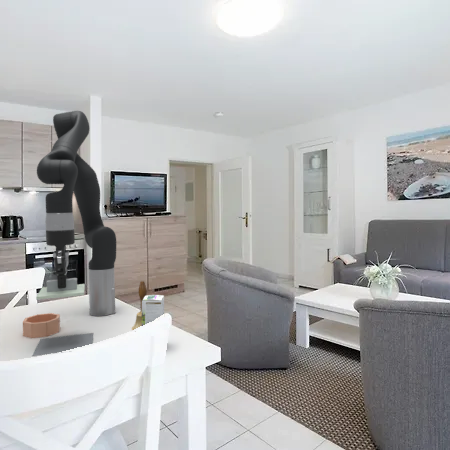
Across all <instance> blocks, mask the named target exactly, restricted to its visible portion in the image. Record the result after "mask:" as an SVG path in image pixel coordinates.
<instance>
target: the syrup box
mask: <svg viewBox="0 0 450 450" xmlns="http://www.w3.org/2000/svg"><path fill="white" fill-rule="evenodd" d="M163 314H164V315H165V295H163V294H162V295H161V294H148V295H147V294H146V296H145V297H144V299H143V300H142V326H143V325H145V324H147V323H149V322H152V321H154V320H155V319H156V318H158V317H160V316H161V315H163Z"/></svg>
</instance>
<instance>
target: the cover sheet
mask: <svg viewBox="0 0 450 450" xmlns="http://www.w3.org/2000/svg"><path fill="white" fill-rule="evenodd" d="M45 284H46V286H42V287H41V289H40V290H39V292H38V294H37V295H36V300H38V301H39V300H47V299H48V300H49V299H59V298H69V297H70V298H71V297H79V296H85V291H86V290H85V287H86V284H85V283H80V284H78V278H77V277H71V278H67V279H66V288H61V289H59V288H58V282H57V279H47V280H46V282H45Z"/></svg>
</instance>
